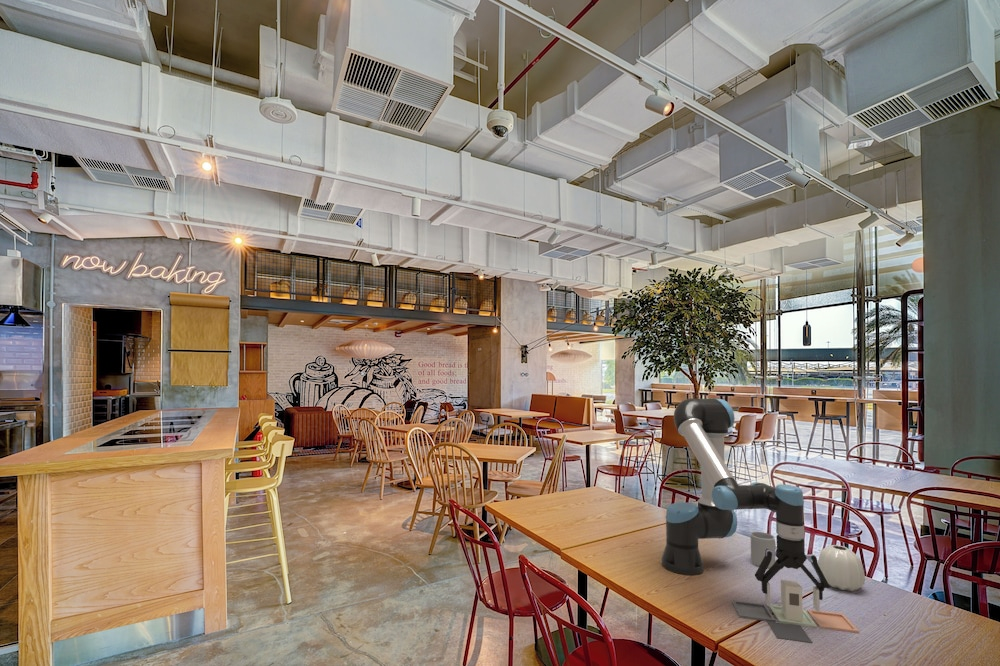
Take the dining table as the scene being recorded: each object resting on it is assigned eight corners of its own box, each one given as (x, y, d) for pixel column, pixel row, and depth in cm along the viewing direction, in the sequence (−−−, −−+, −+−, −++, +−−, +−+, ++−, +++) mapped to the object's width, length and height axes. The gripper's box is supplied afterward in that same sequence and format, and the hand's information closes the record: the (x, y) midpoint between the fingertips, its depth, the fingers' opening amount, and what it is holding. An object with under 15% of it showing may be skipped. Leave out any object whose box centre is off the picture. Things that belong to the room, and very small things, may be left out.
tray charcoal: (739, 618, 147) (739, 615, 147) (732, 603, 156) (732, 600, 156) (775, 623, 144) (775, 620, 144) (765, 607, 154) (765, 604, 154)
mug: (766, 569, 183) (766, 540, 184) (746, 561, 190) (745, 533, 191) (785, 564, 189) (784, 535, 189) (764, 556, 196) (763, 529, 197)
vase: (852, 598, 161) (850, 557, 162) (809, 581, 174) (808, 543, 174) (873, 590, 168) (872, 551, 169) (830, 574, 180) (829, 538, 181)
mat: (777, 639, 136) (777, 637, 136) (767, 623, 144) (767, 621, 144) (812, 644, 133) (812, 642, 134) (800, 627, 142) (800, 625, 142)
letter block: (786, 619, 146) (785, 585, 147) (781, 612, 150) (780, 579, 151) (802, 621, 145) (802, 587, 146) (797, 614, 149) (796, 581, 150)
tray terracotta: (820, 629, 141) (820, 625, 141) (807, 612, 151) (807, 609, 151) (859, 634, 139) (859, 631, 139) (843, 617, 149) (843, 613, 149)
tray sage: (779, 624, 144) (779, 620, 144) (769, 607, 154) (769, 604, 154) (816, 628, 142) (816, 625, 142) (803, 612, 151) (803, 608, 151)
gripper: (750, 536, 149) (751, 607, 147) (840, 545, 143) (843, 618, 141) (743, 528, 156) (744, 596, 154) (829, 536, 150) (832, 606, 149)
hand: (791, 607), depth 148 cm, fingers open, 13 cm apart
